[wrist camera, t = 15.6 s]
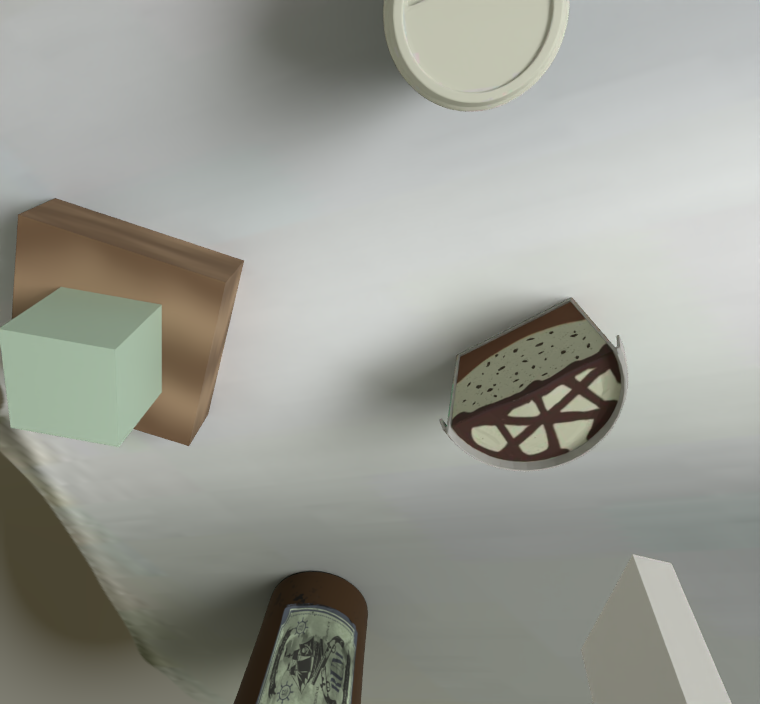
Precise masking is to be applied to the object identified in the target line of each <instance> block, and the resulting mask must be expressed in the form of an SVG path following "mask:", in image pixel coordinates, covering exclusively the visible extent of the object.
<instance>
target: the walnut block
mask: <svg viewBox="0 0 760 704" xmlns="http://www.w3.org/2000/svg"><path fill="white" fill-rule="evenodd" d="M243 263H244V261H243V260H240V259H237V258H234V257H231V256H228V255H225V254H222V253H219V252H216V251H213V250H210V249H207V248H204V247H201V246H198V245H195V244H192V243H189V242H186V241H183V240H180V239H177V238H174V237H171V236H168V235H165V234H162V233H159V232H156V231H153V230H150V229H147V228H144V227H141V226H138V225H135V224H132V223H129V222H126V221H123V220H120V219H117V218H114V217H111V216H108V215H105V214H101V213H98V212H95V211H92V210H89V209H86V208H83V207H80V206H77V205H74V204H71V203H68V202H65V201H62V200H59V199H56V198H55V199H52V200H50V201H48V202H46V203H43V204H41V205H39V206H36V207H34V208H32V209H30V210H27V211H25V212H23V213H21V214H18V226H17V242H16V259H15V275H14V291H13V308H12V319H14V318H15V317H17V316H18V315H20V314H21V313H23V312H24V311H26V310H27V309H29V308H30V307H32V306H33V305H35V304H36V303H38V302H39V301H41V300H42V299H44V298H45V297H47V296H48V295H50V294H51V293H53V292H54V291H56V290H57V289H59V288H60V287H65V288H71V289H76V290H82V291H88V292H93V293H99V294H104V295H110V296H116V297H121V298H127V299H133V300H138V301H144V302H150V303H155V304H161V305H162V393H161V394H160V395H159V396H158V398H157V399H156V400H155V402H154V403H153V404H152V405H151V407H150V408H149V409H148V410H147V412H146V413H145V414H144V416H143V417H142V418H141V419H140V421H139V422H138V423H137V425H136V426H135V427H134V428H133V429H136V430H139V431H142V432H145V433H148V434H152V435H155V436H158V437H161V438H165V439H168V440H171V441H174V442H178V443H181V444H184V445H187V446H189V445H190V444H191V442H192V440H193V439H194V437H195V435H196V434H197V432H198V430H199V429H200V427H201V425H202V424H203V422H204V420H205V419H206V417H207V415H208V412H209V408H210V404H211V399H212V395H213V391H214V387H215V382H216V378H217V374H218V370H219V365H220V361H221V357H222V353H223V348H224V344H225V340H226V335H227V331H228V327H229V323H230V318H231V314H232V310H233V306H234V301H235V297H236V293H237V289H238V284H239V280H240V276H241V271H242V267H243Z"/></svg>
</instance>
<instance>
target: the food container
mask: <svg viewBox="0 0 760 704" xmlns="http://www.w3.org/2000/svg"><path fill="white" fill-rule="evenodd" d="M627 389H628V369H627V360H626V355H625V350H624V346H623V343H622V341H621V338H620V336H619V335H618V336H617V347H616V348H615V347H614V346H613V344H612V343H611V342H610V341H609V340H608V339H607V337H606V336H605V335H604V334H603V333H602V332H601V330H600V329H599V328H598V327H597V326H596V325H595V324H594V322H593V321H592V320H591V319H590V318H589V317H588V315H587V314H586V313H585V312H584V311H583V310H582V308H581V307H580V306H579V305H578V304H577V303H576V302H575V300H574V299H573V298H570V299H568V300H566V301H564V302H562V303H560V304H558V305H556V306H554V307H552V308H550V309H548V310H546V311H544V312H542V313H540V314H538V315H536V316H534V317H532V318H530V319H528V320H526V321H524V322H522V323H520V324H518V325H516V326H514V327H512V328H510V329H508V330H506V331H504V332H502V333H500V334H498V335H496V336H494V337H492V338H490V339H488V340H486V341H484V342H482V343H480V344H478V345H476V346H474V347H472V348H470V349H468V350H466V351H464V352H462V353H460V354H458V355H457V358H456V365H455V372H454V379H453V386H452V393H451V400H450V407H449V414H448V421H447V425H446V424H445V422H444V421H443V420H442V419H440V423H441V426H442V428H443V430H444V431H445V433H446V434H447V435H448V436H449V438H450V439H451V440H452V441H453V442H454V443H455V444H456V445H457V446H458V447H459V448H460V449H462V450H463V451H464V452H465V453H467V454H468V455H470V456H471V457H473V458H474V459H476V460H478V461H481V462H483V463H485V464H487V465H490V466H493V467H497V468H500V469H506V470H512V471H539V470H545V469H550V468H555V467H558V466H561V465H564V464H567V463H569V462H571V461H573V460H575V459H577V458H579V457H581V456H583V455H584V454H586V453H587V452H589V451H590V450H592V449H593V448H594V447H595V446H597V445H598V444H599V443H600V442H601V441H602V440H603V439H604V438H605V437H606V436H607V434H608V433H609V432H610V431H611V429H612V428H613V426H614V425H615V423H616V421H617V419H618V418H619V415H620V413H621V410H622V408H623V405H624V402H625V399H626V394H627Z"/></svg>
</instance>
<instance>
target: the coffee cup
mask: <svg viewBox="0 0 760 704" xmlns="http://www.w3.org/2000/svg"><path fill="white" fill-rule="evenodd" d="M569 2H570V0H384V5H383V24H384V32H385V37H386V42H387V45H388V49H389V52H390V54H391V57H392V59H393V61H394V63H395V65H396V67H397V69H398V70H399V72H400V73H401V75H402V76H403V78H404V79H405V80H406V81H407V83H408V84H409V85H410V86H411V87H412V88H413V89H414V90H415V91H417V92H418V93H419V94H420V95H422V96H423V97H424V98H426V99H428V100H429V101H431V102H433V103H435V104H437V105H439V106H442V107H445V108H448V109H452V110H457V111H483V110H488V109H492V108H496V107H499V106H502V105H504V104H506V103H508V102H510V101H512V100H514V99H516V98H517V97H519V96H521V95H522V94H523V93H525V92H526V91H527V90H529V89H530V88H531V87H532V86H533V85H534V84H535V83H536V82H537V81H538V80H539V79H540V78H541V77H542V76H543V74H544V73H545V72H546V70H547V69H548V68H549V66H550V65H551V63H552V62H553V60H554V58H555V56H556V54H557V52H558V50H559V48H560V46H561V43H562V40H563V38H564V34H565V31H566V27H567V22H568V16H569Z"/></svg>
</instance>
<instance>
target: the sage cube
mask: <svg viewBox="0 0 760 704" xmlns="http://www.w3.org/2000/svg"><path fill="white" fill-rule="evenodd" d="M0 346H1V354H2V362H3V370H4V377H5V385H6V393H7V401H8V409H9V417H10V425H11V428H16V429H21V430H27V431H32V432H38V433H44V434H49V435H55V436H60V437H66V438H71V439H77V440H82V441H88V442H93V443H99V444H105V445H110V446H116V447H119V446H120V445H121V444H122V442H123V441H124V440H125V439H126V437H127V436H128V435H129V433H130V432H131V431H132V430H133V428H134V427H135V426H136V425H137V423H138V422H139V421H140V419H141V418H142V417H143V416H144V414H145V413H146V412H147V410H148V409H149V408H150V407H151V405H152V404H153V403H154V402H155V400H156V399H157V398H158V396H159V395H160V394H161V393H162V305H161V304H155V303H150V302H144V301H138V300H133V299H127V298H121V297H116V296H110V295H104V294H99V293H93V292H88V291H82V290H76V289H71V288H65V287H60V288H59V289H57V290H56V291H54V292H53V293H51V294H50V295H48V296H47V297H45V298H44V299H42V300H41V301H39V302H38V303H36V304H35V305H33V306H32V307H30V308H29V309H27V310H26V311H24V312H23V313H21V314H20V315H18V316H17V317H15V318H14V319H12V320H11V321H9V322H8V323H6V324H5V325H3V326H2V327H0Z"/></svg>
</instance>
